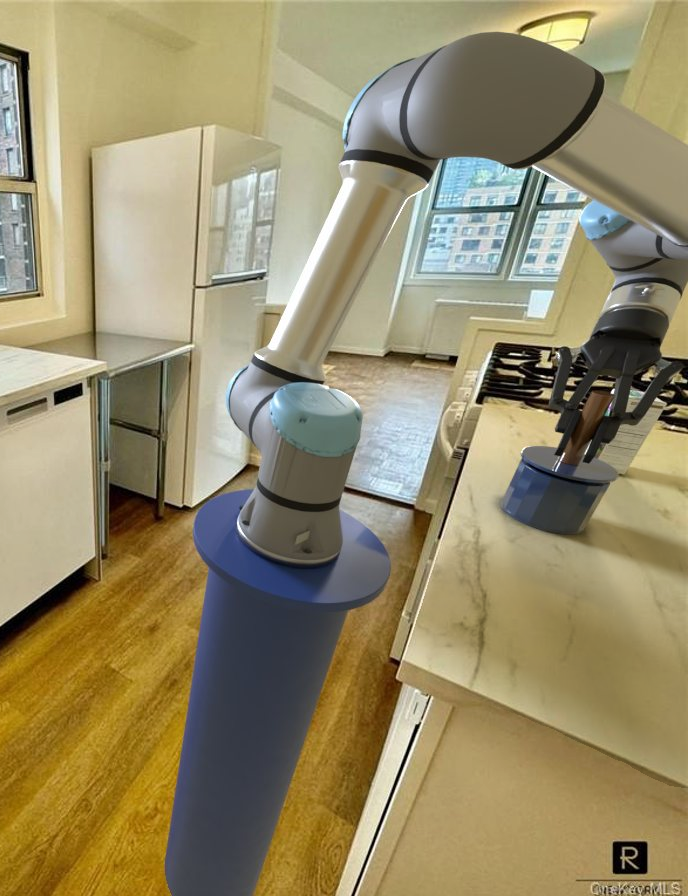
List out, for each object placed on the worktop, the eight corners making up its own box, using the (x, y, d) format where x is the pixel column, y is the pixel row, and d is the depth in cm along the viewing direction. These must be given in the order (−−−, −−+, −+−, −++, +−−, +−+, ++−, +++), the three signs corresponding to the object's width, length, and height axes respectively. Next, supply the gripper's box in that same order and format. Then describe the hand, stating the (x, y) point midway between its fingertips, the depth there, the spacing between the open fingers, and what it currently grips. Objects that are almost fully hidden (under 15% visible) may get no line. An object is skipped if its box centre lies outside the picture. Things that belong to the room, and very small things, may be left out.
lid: (513, 467, 74) (548, 393, 68) (524, 445, 80) (555, 376, 75) (614, 495, 67) (661, 414, 61) (616, 468, 73) (658, 393, 68)
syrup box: (574, 456, 96) (610, 387, 89) (614, 463, 94) (653, 392, 87) (584, 468, 91) (623, 396, 85) (626, 475, 89) (669, 402, 82)
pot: (495, 514, 77) (516, 468, 74) (505, 491, 84) (526, 448, 80) (581, 543, 71) (609, 494, 67) (585, 515, 77) (611, 469, 74)
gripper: (570, 299, 74) (510, 428, 71) (724, 313, 65) (662, 463, 62) (558, 328, 80) (502, 449, 77) (698, 345, 70) (640, 484, 67)
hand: (573, 455), depth 69 cm, fingers closed on lid, 2 cm apart
